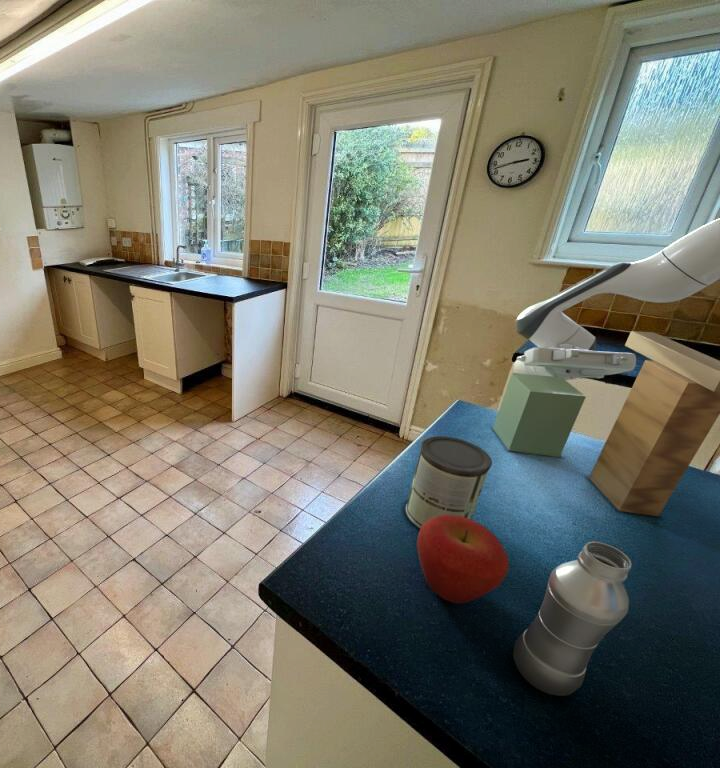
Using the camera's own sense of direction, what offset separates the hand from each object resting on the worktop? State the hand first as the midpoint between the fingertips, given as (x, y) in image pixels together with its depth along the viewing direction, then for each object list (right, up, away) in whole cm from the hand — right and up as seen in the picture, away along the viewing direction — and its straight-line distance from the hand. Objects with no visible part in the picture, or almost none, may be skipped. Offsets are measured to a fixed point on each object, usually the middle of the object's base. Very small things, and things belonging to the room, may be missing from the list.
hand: (600, 354), depth 89 cm
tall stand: (-5, -28, -9) cm, 30 cm away
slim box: (-4, -3, -18) cm, 19 cm away
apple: (-49, -37, -28) cm, 68 cm away
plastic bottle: (-44, -42, -38) cm, 72 cm away
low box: (-10, -20, +8) cm, 24 cm away
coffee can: (-43, -31, -14) cm, 55 cm away
